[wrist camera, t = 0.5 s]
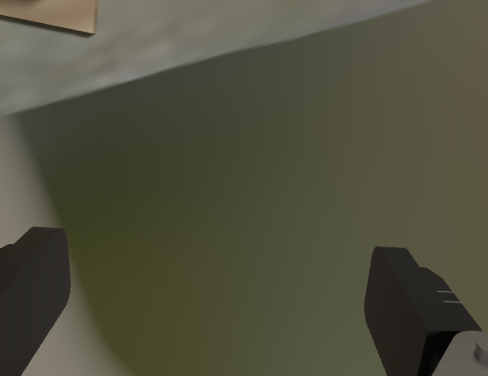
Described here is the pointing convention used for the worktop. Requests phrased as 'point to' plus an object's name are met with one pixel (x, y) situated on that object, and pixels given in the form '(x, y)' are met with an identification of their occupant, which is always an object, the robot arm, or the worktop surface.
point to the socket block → (55, 12)
